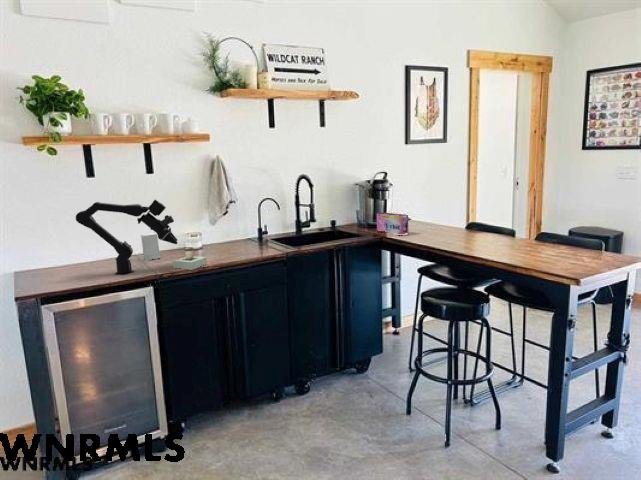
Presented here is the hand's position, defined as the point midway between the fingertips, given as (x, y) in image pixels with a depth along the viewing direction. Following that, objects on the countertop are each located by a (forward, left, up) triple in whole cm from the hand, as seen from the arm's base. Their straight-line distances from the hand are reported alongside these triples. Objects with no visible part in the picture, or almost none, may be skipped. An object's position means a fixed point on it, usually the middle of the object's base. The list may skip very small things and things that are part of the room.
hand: (177, 242), depth 254 cm
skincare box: (+13, +31, -14) cm, 36 cm away
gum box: (+121, -80, -14) cm, 146 cm away
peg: (+4, -4, -14) cm, 15 cm away
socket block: (+4, -4, -14) cm, 15 cm away
